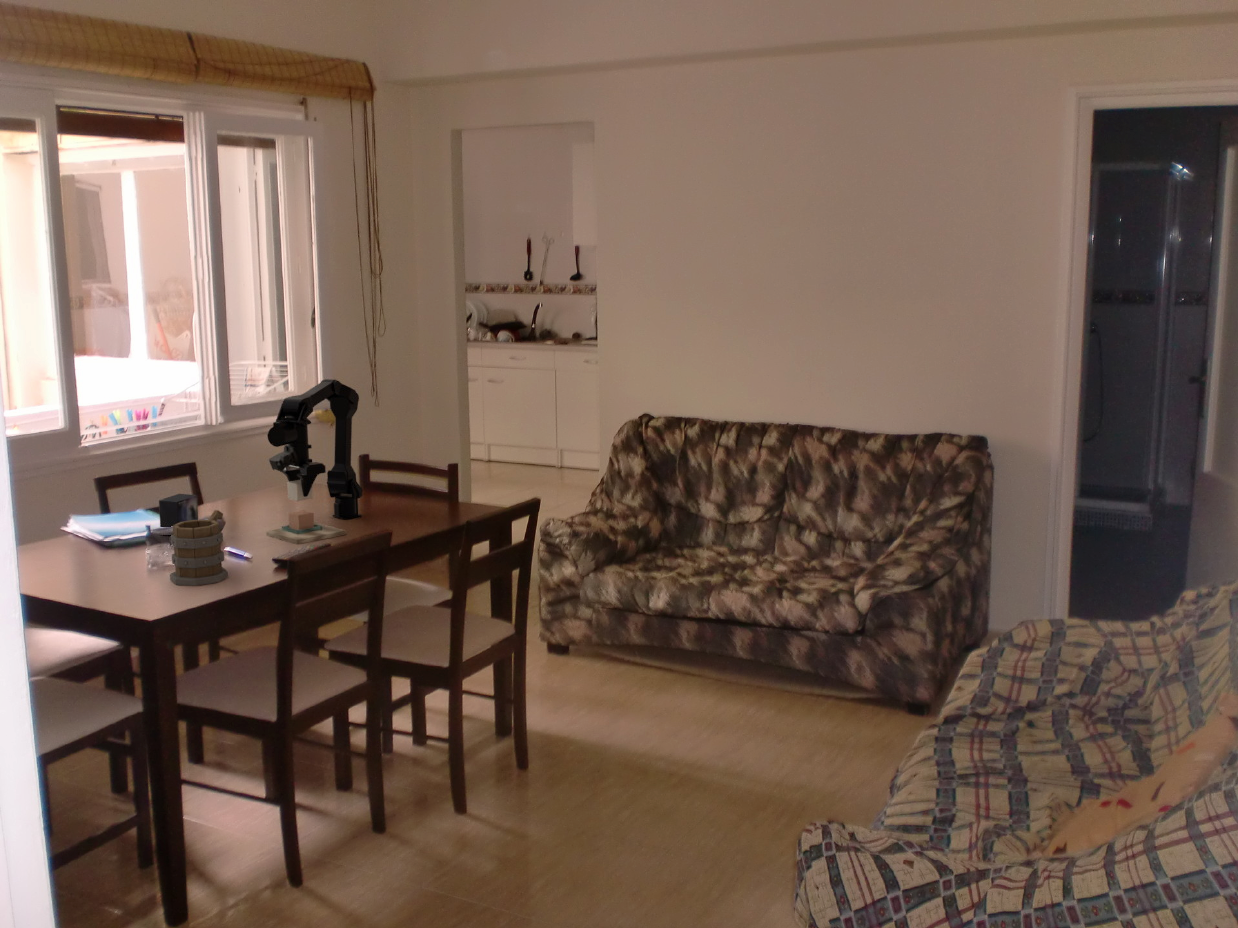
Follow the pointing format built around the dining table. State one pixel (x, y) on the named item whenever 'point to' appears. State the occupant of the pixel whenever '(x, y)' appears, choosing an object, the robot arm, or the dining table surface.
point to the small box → (178, 509)
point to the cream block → (297, 491)
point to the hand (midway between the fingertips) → (300, 495)
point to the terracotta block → (301, 520)
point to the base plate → (305, 533)
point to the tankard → (198, 552)
